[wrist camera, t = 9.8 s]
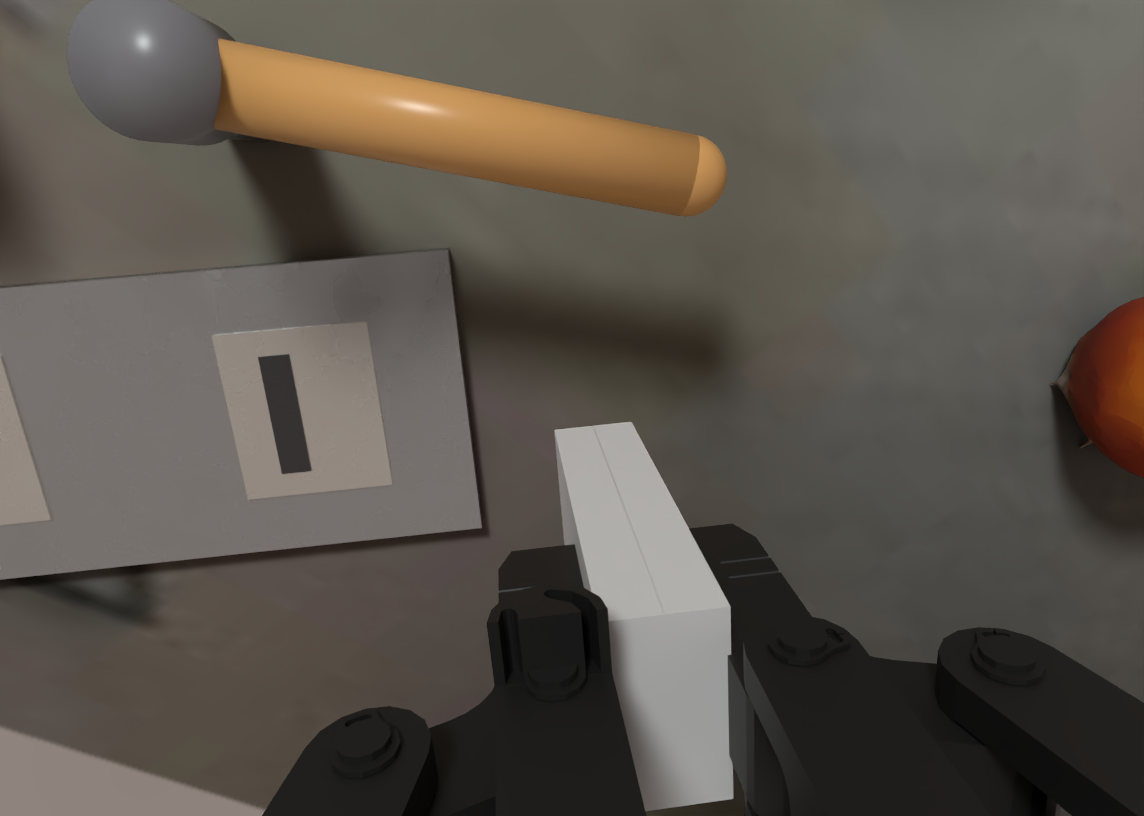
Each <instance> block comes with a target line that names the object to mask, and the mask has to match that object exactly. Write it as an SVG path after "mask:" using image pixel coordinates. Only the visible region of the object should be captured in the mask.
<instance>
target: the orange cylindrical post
mask: <svg viewBox="0 0 1144 816" xmlns="http://www.w3.org/2000/svg"><path fill="white" fill-rule="evenodd" d="M67 63H68V68H69V73H70V76H71V79H72V82H73V85H74V87H75V89H76V91H77V93H78V95H79V97H80V98H81V100H82V102H83V103H84V104H85V106H86V107H87V108H88V109H89V111H90V112H91V113H92V114H93V115H94V116H95V117H96V118H97V119H98V120H100V121H101V122H102V123H103V124H104V125H106V126H107V127H109V128H110V129H112V130H114V131H116V132H118V133H119V134H121V135H124V136H127V137H129V138H133V139H137V140H142V141H150V142H162V143H174V144H186V145H198V146H199V145H212V144H216V143H220V142H222V141H224V140H227V139H229V138H230V137H232V136H233V135H235V134H236V133H237V134H243V135H248V136H253V137H259V138H264V139H269V140H275V141H280V142H285V143H291V144H296V145H301V146H307V147H312V148H317V149H323V150H328V151H334V152H339V153H344V154H350V155H355V156H360V157H366V158H371V159H376V160H382V161H387V162H392V163H398V164H403V165H408V166H414V167H419V168H425V169H430V170H435V171H441V172H446V173H451V174H457V175H462V176H467V177H473V178H478V179H483V180H489V181H494V182H499V183H505V184H510V185H516V186H521V187H526V188H532V189H537V190H542V191H548V192H553V193H558V194H564V195H569V196H574V197H580V198H585V199H590V200H596V201H601V202H607V203H612V204H617V205H623V206H628V207H633V208H639V209H644V210H649V211H655V212H660V213H665V214H671V215H676V216H694V215H697V214H700V213H703V212H704V211H706V210H708V209H709V208H710V207H712V206H713V205H714V204H715V203H716V202H717V200H718V199H719V198H720V196H721V195H722V193H723V190H724V187H725V184H726V179H727V168H726V163H725V160H724V157H723V155H722V153H721V152H720V150H719V149H718V147H717V146H716V145H715V144H714V143H712V142H711V141H710V140H708V139H706V138H705V137H701V136H698V135H695V134H690V133H685V132H680V131H675V130H670V129H665V128H660V127H655V126H650V125H645V124H640V123H635V122H631V121H626V120H621V119H616V118H611V117H606V116H601V115H596V114H591V113H586V112H581V111H576V110H571V109H566V108H561V107H556V106H551V105H546V104H541V103H536V102H531V101H527V100H522V99H517V98H512V97H507V96H502V95H497V94H492V93H487V92H482V91H477V90H472V89H467V88H462V87H457V86H452V85H447V84H442V83H437V82H432V81H428V80H423V79H418V78H413V77H408V76H403V75H398V74H393V73H388V72H383V71H378V70H373V69H368V68H363V67H358V66H353V65H348V64H343V63H338V62H333V61H328V60H324V59H319V58H314V57H309V56H304V55H299V54H294V53H289V52H284V51H279V50H274V49H269V48H264V47H259V46H254V45H249V44H244V43H239V42H236V41H235V40H234V39H233V38H232V37H231V36H230V35H229V34H228V33H227V32H226V31H224V30H223V29H222V28H220V27H219V26H217V25H215V24H214V23H212V22H210V21H208V20H206V19H204V18H202V17H200V16H198V15H196V14H194V13H192V12H190V11H188V10H186V9H184V8H182V7H180V6H178V5H176V4H174V3H172V2H170V1H168V0H92V1H91V2H90V3H88V4H87V5H86V6H85V7H84V8H83V9H82V10H81V12H80V13H79V14H78V16H77V17H76V19H75V21H74V23H73V25H72V28H71V30H70V33H69V38H68V43H67Z"/></svg>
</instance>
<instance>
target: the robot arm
mask: <svg viewBox="0 0 1144 816" xmlns="http://www.w3.org/2000/svg"><path fill="white" fill-rule="evenodd" d="M554 431H555V442H556V454H557V465H558V476H559V488H560V499H561V510H562V521H563V533H564V544H565V545H563V546H555V547H546V548H537V549H528V550H520V551H512V552H511V553H510V554H509V556H508V557H507V559H506V560H505V561H504V563H503V564H502V565H501V567H500V568H499V603H498V604H497V605H496V606H495V607H494V608H493V609H492V610H491V613H490V615H489V618H488V621H487V629H488V637H489V645H490V653H491V661H492V668H493V676H494V684H495V686H494V688H493V690H492V692H491V693H490V694H489V695H488V696H487V697H486V698H485V699H484V700H483V701H482V703H480V704H479V705H477V706H476V707H475V708H473V709H472V710H470V711H469V712H467V713H465V714H463V715H461V716H459V717H457V718H455V719H452V720H450V721H448V722H445V723H442V724H440V725H437V726H434V727H431V728H428V726H427V724H426V722H425V720H424V719H422V718H421V717H419V716H418V715H416V714H415V713H413V712H412V711H410V710H406V709H401V708H395V707H390V706H388V707H379V708H369V709H364V710H361V711H358V712H355V713H353V714H350V715H347V716H344V717H342V718H340V719H338V720H337V721H335V722H334V723H332V724H331V725H329V726H327V727H326V728H324V729H323V730H321V731H320V732H319V733H318V734H317V735H316V737H315V738H314V739H313V740H312V741H311V742H310V743H309V744H308V745H307V747H306V748H305V749H304V751H303V752H302V754H301V755H300V757H299V758H298V760H297V762H296V763H295V765H294V766H293V768H292V769H291V771H290V773H289V774H288V776H287V777H286V779H285V780H284V782H283V784H282V785H281V787H280V788H279V790H278V791H277V793H276V795H275V796H274V798H273V799H272V801H271V802H270V804H269V806H268V807H267V809H266V810H265V812H264V813H263V815H262V816H646V812H645V811H650V810H657V809H665V808H672V807H679V806H686V805H693V804H700V803H707V802H715V801H722V800H729V799H733V766H734V768H735V771H736V773H737V776H738V778H739V781H740V783H741V786H742V788H743V791H744V793H745V816H1059V815H1060V808H1061V807H1062V808H1063V809H1064V810H1066V811H1067V812H1068V813H1069V814H1071V815H1072V816H1144V703H1143V702H1141V701H1140V700H1138V699H1136V698H1135V697H1133V696H1132V695H1130V694H1128V693H1127V692H1125V691H1123V690H1122V689H1120V688H1118V687H1117V686H1115V685H1114V684H1112V683H1110V682H1109V681H1107V680H1105V679H1104V678H1102V677H1101V676H1099V675H1097V674H1096V673H1094V672H1092V671H1091V670H1089V669H1088V668H1086V667H1084V666H1083V665H1081V664H1079V663H1078V662H1076V661H1074V660H1073V659H1071V658H1070V657H1068V656H1066V655H1065V654H1063V653H1061V652H1060V651H1058V650H1057V649H1055V648H1053V647H1051V646H1049V645H1047V644H1045V643H1043V642H1041V641H1039V640H1037V639H1034V638H1032V637H1030V636H1027V635H1023V634H1020V633H1016V632H1012V631H1009V630H1006V629H998V628H994V629H993V628H980V627H978V628H972V629H965V630H959V631H956V632H955V633H953V634H951V635H949V636H947V637H946V638H944V639H943V641H942V643H941V645H940V648H939V650H938V657H937V664H933V663H921V662H909V661H898V660H889V659H883V658H876V657H872V656H869V654H868V653H867V652H866V650H865V649H864V648H863V646H862V645H861V644H860V643H859V641H858V640H857V639H856V638H855V637H853V636H852V635H851V634H850V633H849V632H848V631H847V630H845V629H844V628H842V627H840V626H838V625H836V624H833V623H831V622H829V621H827V620H824V619H819V618H814V617H812V616H811V615H810V613H809V612H808V611H807V609H806V608H805V606H804V605H803V603H802V602H801V601H800V599H799V598H798V596H797V595H796V594H795V592H794V591H793V589H792V588H791V586H790V585H789V584H788V582H787V581H786V579H785V578H784V577H783V575H782V574H781V573H779V572H778V568H777V567H776V565H775V564H774V562H773V561H772V560H771V558H768V554H767V552H766V551H765V550H764V548H763V547H762V545H761V544H760V543H759V541H758V540H757V538H756V537H755V536H753V535H751V534H749V533H748V532H746V531H744V530H742V529H741V528H739V527H737V526H736V525H734V524H725V525H717V526H708V527H699V528H691V529H689V528H688V526H687V525H686V523H685V521H684V519H683V517H682V515H681V513H680V512H679V510H678V508H677V506H676V504H675V502H674V500H673V499H672V497H671V495H670V493H669V491H668V489H667V487H666V486H665V484H664V482H663V480H662V478H661V476H660V474H659V473H658V471H657V469H656V467H655V465H654V463H653V461H652V460H651V458H650V456H649V454H648V452H647V450H646V448H645V446H644V445H643V443H642V441H641V439H640V437H639V435H638V433H637V432H636V430H635V428H634V426H633V424H632V422H625V423H616V424H606V425H596V426H587V427H577V428H568V429H558V430H554Z"/></svg>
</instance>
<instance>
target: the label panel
mask: <svg viewBox="0 0 1144 816" xmlns="http://www.w3.org/2000/svg"><path fill="white" fill-rule="evenodd" d="M477 528H482V513H481V505H480V497H479V489H478V481H477V473H476V465H475V456H474V448H473V440H472V432H471V424H470V416H469V408H468V400H467V392H466V384H465V375H464V367H463V359H462V351H461V343H460V335H459V327H458V319H457V311H456V302H455V294H454V286H453V278H452V270H451V262H450V254H449V248H442V249H431V250H419V251H407V252H396V253H384V254H372V255H361V256H349V257H338V258H326V259H314V260H303V261H291V262H279V263H268V264H256V265H245V266H233V267H221V268H210V269H198V270H187V271H175V272H163V273H152V274H140V275H128V276H117V277H105V278H94V279H82V280H70V281H59V282H47V283H35V284H24V285H12V286H1V287H0V580H1V579H11V578H20V577H29V576H39V575H48V574H57V573H67V572H76V571H85V570H95V569H104V568H113V567H123V566H132V565H141V564H151V563H160V562H169V561H179V560H188V559H197V558H207V557H216V556H225V555H235V554H244V553H253V552H263V551H272V550H281V549H290V548H300V547H309V546H318V545H328V544H337V543H346V542H356V541H365V540H374V539H384V538H393V537H402V536H412V535H421V534H430V533H440V532H449V531H458V530H468V529H477Z"/></svg>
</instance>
